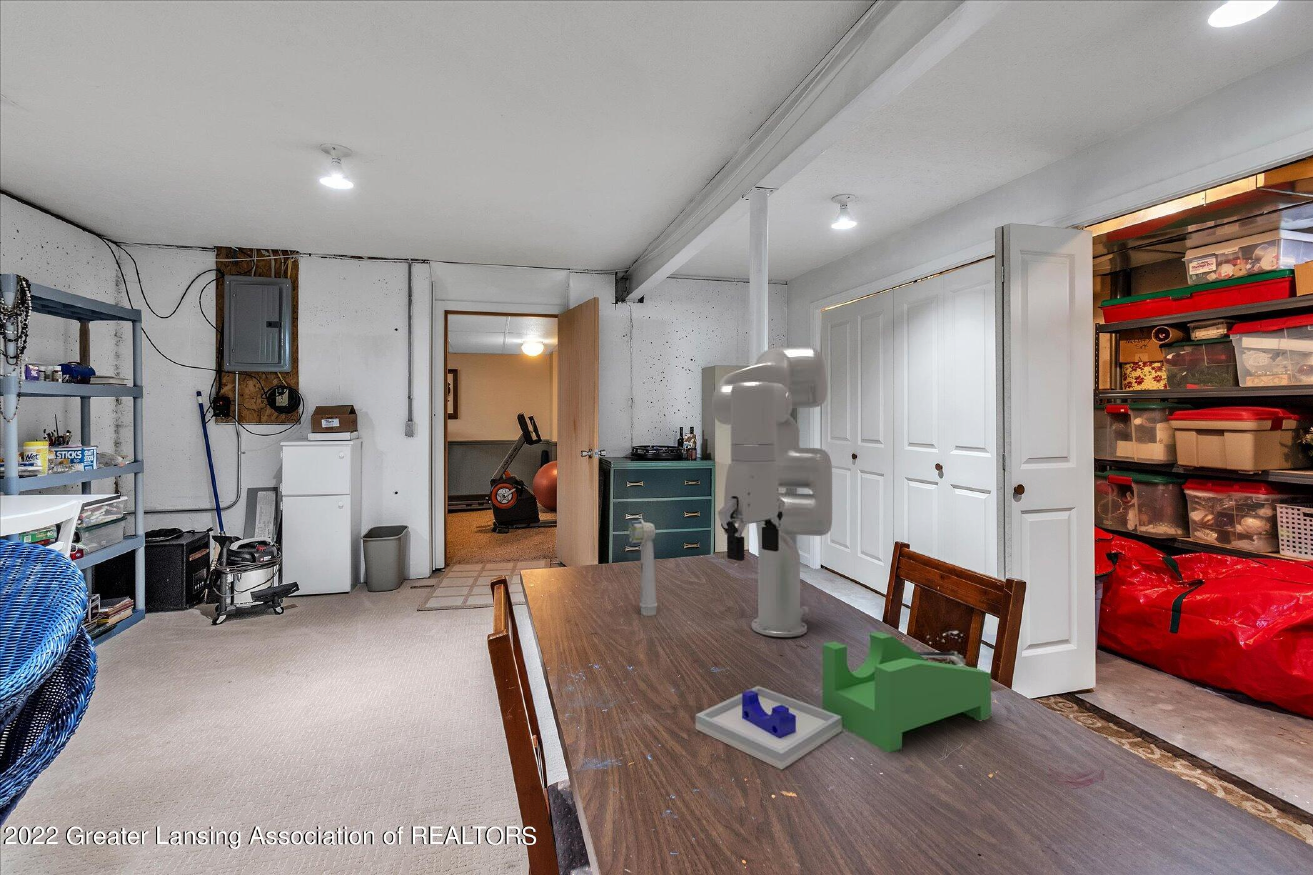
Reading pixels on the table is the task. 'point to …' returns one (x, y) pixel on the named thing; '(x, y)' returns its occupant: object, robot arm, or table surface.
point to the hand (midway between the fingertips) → (753, 554)
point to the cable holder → (768, 716)
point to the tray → (757, 742)
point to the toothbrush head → (645, 564)
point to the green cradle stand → (898, 690)
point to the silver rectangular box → (944, 655)
